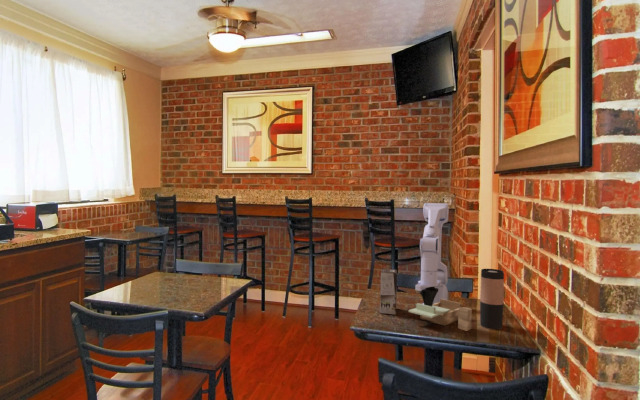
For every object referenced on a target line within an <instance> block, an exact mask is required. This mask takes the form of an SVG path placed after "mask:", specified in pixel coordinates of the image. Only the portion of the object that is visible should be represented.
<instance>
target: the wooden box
mask: <svg viewBox="0 0 640 400" xmlns="http://www.w3.org/2000/svg"><path fill="white" fill-rule="evenodd" d="M433 306H437V307H441V308H445V309H449V310H450V311H449V312H447V313H444V314H441V315H439V316H436V317H433V318H429V317H426V316H422V315H420V316H419V319H420V320H423V321H426V322H430V323H433V324H436V325H437V324H438V325H441V326H443V327H444V326H445V327H446V326H447V325H450V324H453V323H454V322H458V308H461V307H462V303H461V302H457V301H454V300H450V299H447V300H445V299H440V302H438V303H435V304H433Z"/></svg>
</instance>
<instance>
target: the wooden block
mask: <svg viewBox="0 0 640 400" xmlns="http://www.w3.org/2000/svg"><path fill="white" fill-rule="evenodd" d="M472 311H473V310H472V308H469V307H464V306H461V308H458V320H457V329H459V330H463V331H465V332H467V331H470V330H472Z"/></svg>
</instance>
